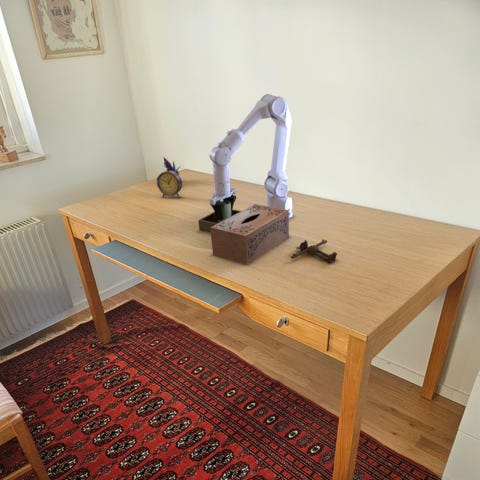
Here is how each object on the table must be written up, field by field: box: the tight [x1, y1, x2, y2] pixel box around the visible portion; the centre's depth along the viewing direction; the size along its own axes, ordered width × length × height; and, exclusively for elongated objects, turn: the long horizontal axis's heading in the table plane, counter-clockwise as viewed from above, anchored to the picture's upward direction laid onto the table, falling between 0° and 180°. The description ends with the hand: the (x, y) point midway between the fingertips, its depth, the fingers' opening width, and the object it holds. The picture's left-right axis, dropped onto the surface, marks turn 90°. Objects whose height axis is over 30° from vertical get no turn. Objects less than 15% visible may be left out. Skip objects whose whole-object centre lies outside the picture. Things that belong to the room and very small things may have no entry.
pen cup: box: [218, 200, 231, 223], centre depth 168 cm, size 5×5×8 cm
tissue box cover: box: [210, 203, 290, 266], centre depth 153 cm, size 26×14×10 cm, turn 144°
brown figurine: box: [290, 238, 338, 264], centre depth 145 cm, size 18×4×14 cm
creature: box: [156, 157, 181, 180], centre depth 222 cm, size 9×18×12 cm, turn 140°
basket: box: [197, 209, 242, 234], centre depth 170 cm, size 14×15×4 cm
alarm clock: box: [156, 160, 183, 198], centre depth 202 cm, size 11×5×16 cm, turn 73°
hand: (224, 217), depth 169 cm, fingers closed on pen cup, 5 cm apart
